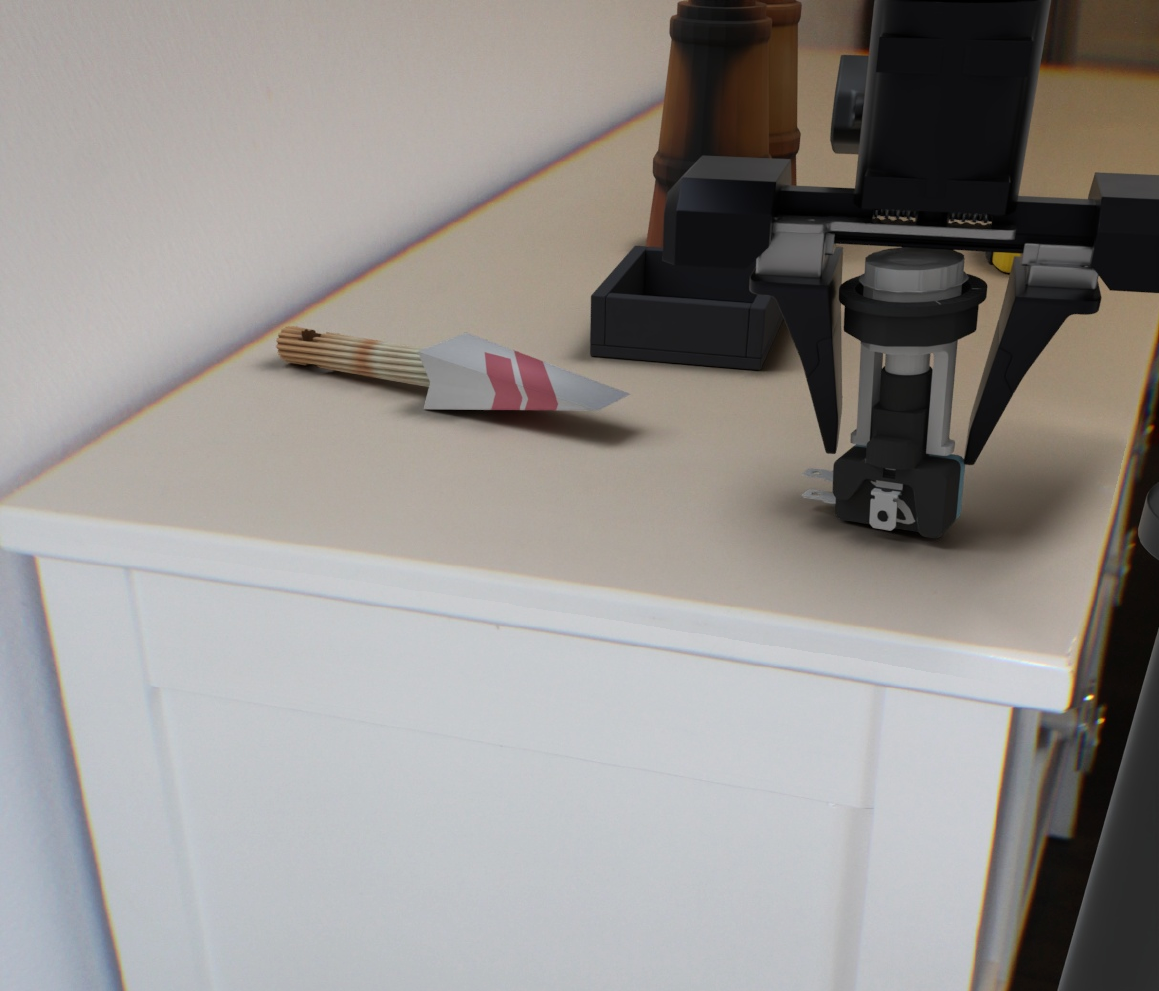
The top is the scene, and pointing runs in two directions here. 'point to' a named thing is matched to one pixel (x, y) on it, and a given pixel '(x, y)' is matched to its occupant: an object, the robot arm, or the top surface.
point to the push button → (904, 391)
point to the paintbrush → (453, 371)
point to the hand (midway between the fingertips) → (900, 456)
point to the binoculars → (727, 90)
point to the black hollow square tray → (681, 314)
